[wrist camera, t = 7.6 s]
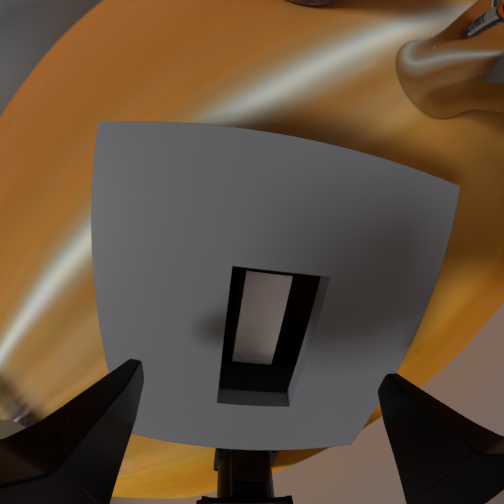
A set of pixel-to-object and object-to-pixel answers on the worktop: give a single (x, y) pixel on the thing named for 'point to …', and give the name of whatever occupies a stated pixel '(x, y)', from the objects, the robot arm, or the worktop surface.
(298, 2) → the supplement bottle
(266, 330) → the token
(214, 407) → the coin box
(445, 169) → the worktop surface
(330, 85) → the worktop surface
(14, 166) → the worktop surface
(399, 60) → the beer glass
